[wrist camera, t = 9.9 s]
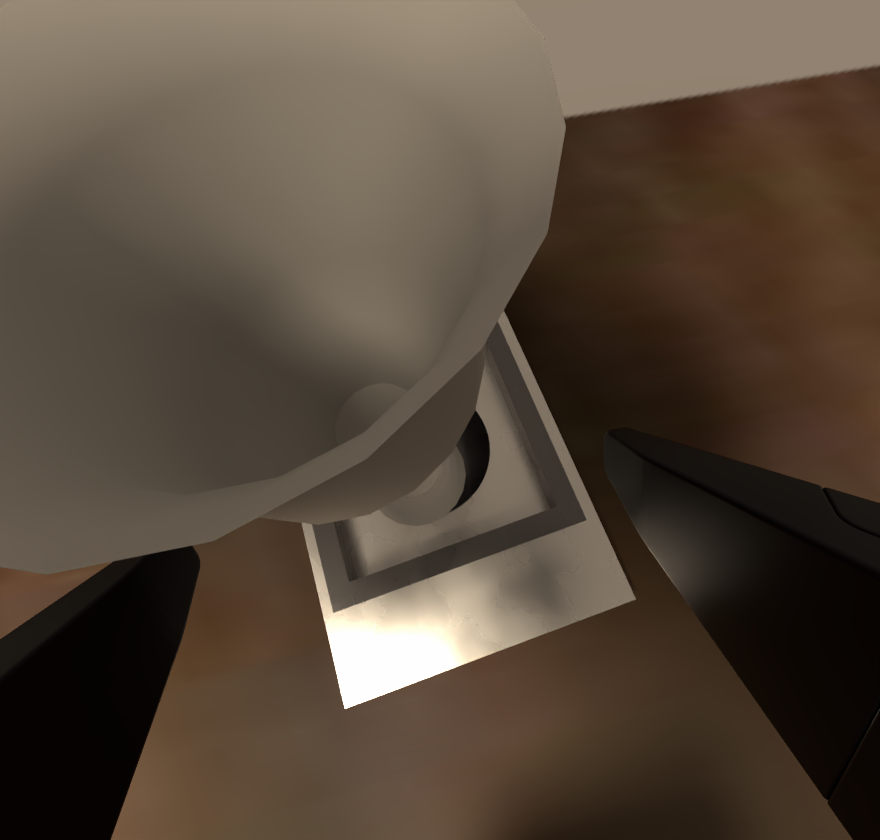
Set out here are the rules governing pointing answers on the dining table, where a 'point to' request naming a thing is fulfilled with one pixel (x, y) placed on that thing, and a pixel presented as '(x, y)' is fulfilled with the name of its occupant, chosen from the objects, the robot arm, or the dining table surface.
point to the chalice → (254, 259)
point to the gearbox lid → (469, 550)
